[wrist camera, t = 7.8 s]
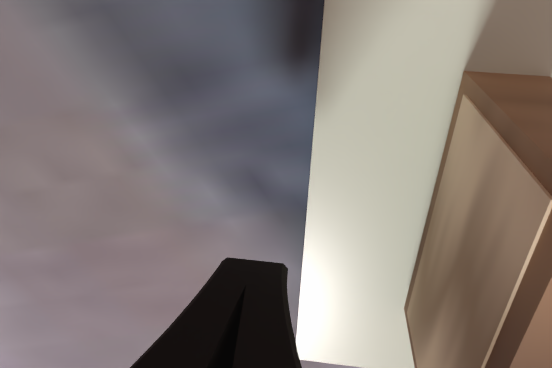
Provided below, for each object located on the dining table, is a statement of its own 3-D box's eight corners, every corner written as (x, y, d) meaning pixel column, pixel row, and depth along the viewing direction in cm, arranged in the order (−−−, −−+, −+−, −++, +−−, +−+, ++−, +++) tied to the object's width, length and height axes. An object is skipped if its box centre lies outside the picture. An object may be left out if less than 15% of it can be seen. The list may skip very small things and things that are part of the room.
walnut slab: (465, 315, 14) (538, 528, 9) (401, 307, 14) (438, 513, 9) (549, 76, 10) (766, 213, 5) (461, 70, 10) (583, 197, 5)
